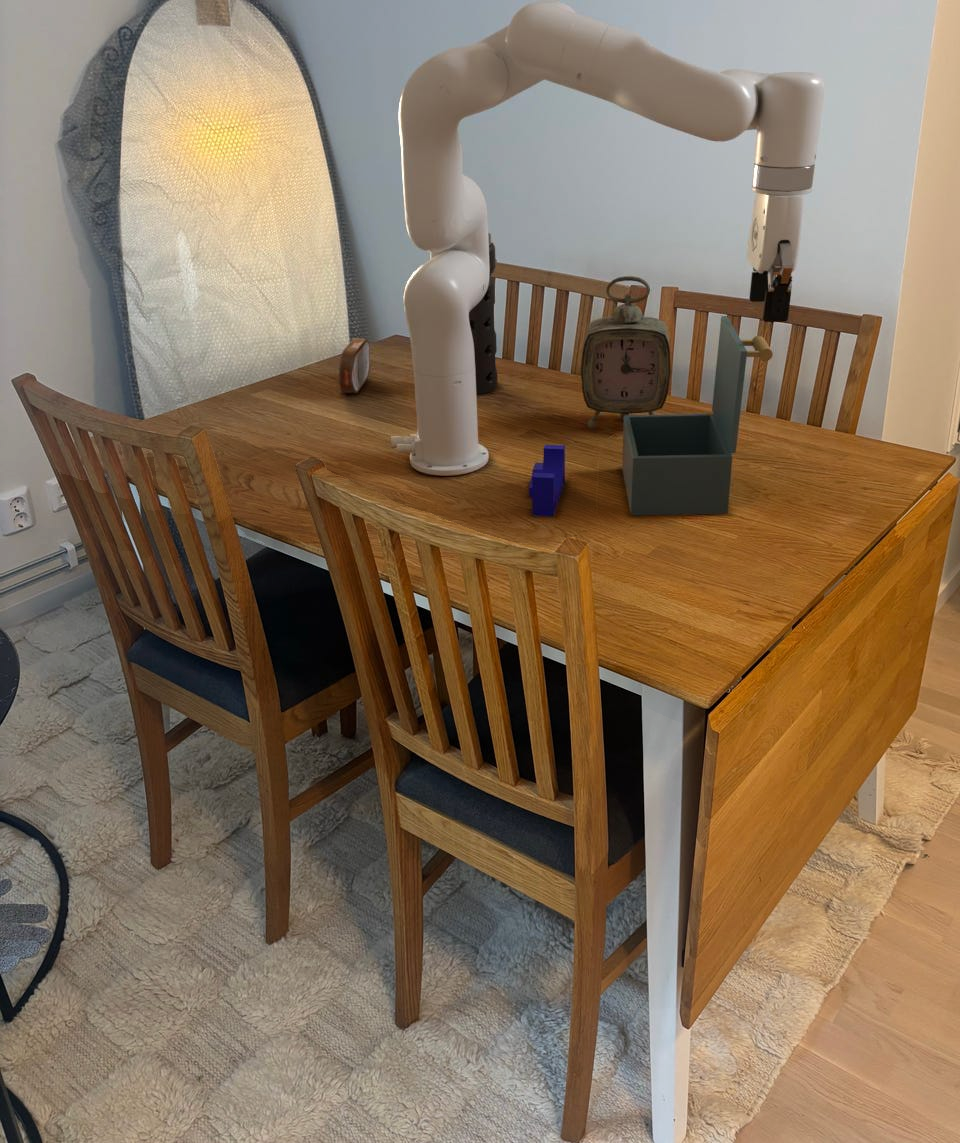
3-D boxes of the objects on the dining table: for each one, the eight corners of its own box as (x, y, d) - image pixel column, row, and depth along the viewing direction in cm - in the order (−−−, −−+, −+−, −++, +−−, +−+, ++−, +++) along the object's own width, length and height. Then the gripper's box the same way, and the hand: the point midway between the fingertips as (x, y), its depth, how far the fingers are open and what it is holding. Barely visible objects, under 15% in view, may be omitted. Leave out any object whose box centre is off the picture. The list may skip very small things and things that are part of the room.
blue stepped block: (535, 480, 164) (535, 444, 161) (564, 482, 163) (565, 445, 161) (522, 514, 154) (521, 476, 151) (553, 516, 153) (553, 478, 150)
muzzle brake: (443, 396, 198) (499, 395, 198) (434, 241, 185) (494, 239, 185) (445, 380, 207) (499, 378, 206) (437, 230, 193) (494, 228, 193)
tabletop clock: (580, 432, 181) (581, 283, 169) (582, 413, 188) (584, 269, 176) (667, 433, 179) (675, 282, 167) (666, 414, 187) (673, 268, 174)
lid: (741, 351, 140) (783, 351, 140) (721, 315, 155) (759, 315, 155) (729, 453, 147) (769, 453, 147) (711, 410, 162) (748, 410, 162)
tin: (359, 373, 212) (355, 331, 208) (374, 373, 212) (370, 331, 208) (339, 400, 199) (334, 356, 195) (356, 400, 199) (351, 356, 195)
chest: (631, 515, 152) (633, 458, 148) (622, 468, 167) (623, 415, 163) (727, 514, 152) (732, 456, 147) (710, 467, 166) (714, 413, 162)
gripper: (741, 168, 145) (729, 294, 154) (766, 191, 130) (751, 329, 139) (797, 167, 145) (782, 294, 153) (828, 190, 130) (810, 329, 138)
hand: (767, 310), depth 146 cm, fingers open, 9 cm apart
